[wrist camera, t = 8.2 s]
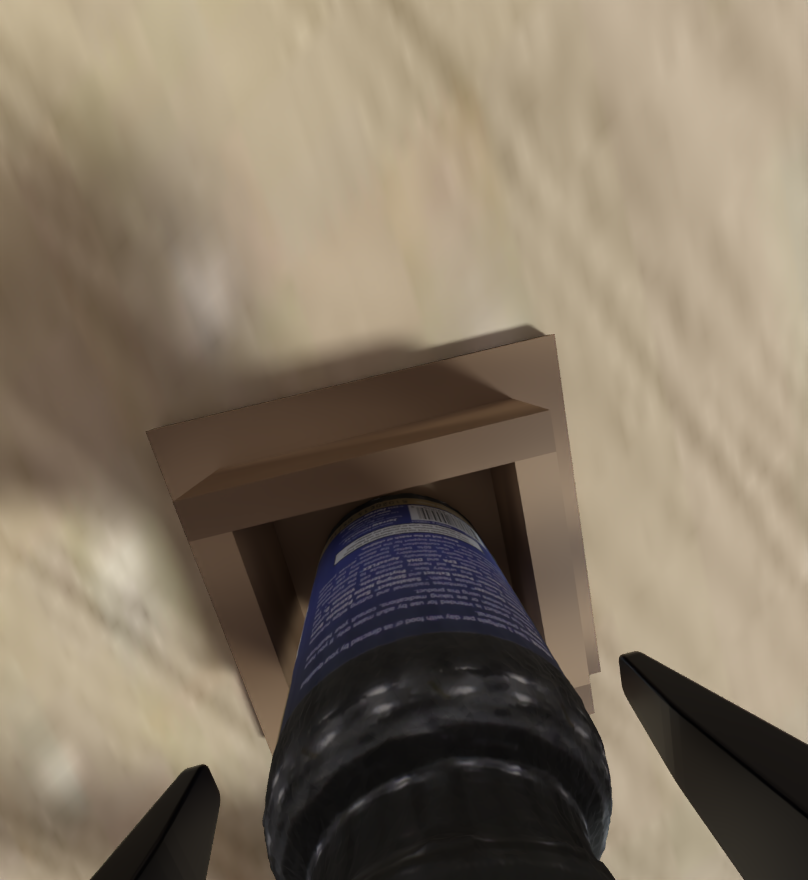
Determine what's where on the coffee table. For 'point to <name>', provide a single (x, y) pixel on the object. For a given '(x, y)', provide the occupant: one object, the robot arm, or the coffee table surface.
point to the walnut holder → (381, 474)
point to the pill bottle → (429, 719)
